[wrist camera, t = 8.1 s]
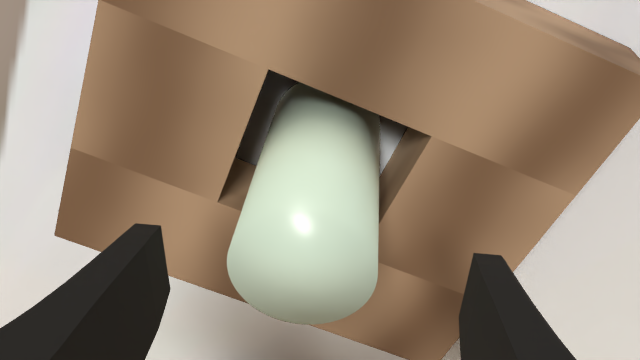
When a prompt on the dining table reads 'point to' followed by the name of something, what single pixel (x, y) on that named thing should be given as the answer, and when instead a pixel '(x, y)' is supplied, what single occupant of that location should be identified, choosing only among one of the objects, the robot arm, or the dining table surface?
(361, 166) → the peg
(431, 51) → the peg board
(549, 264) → the dining table surface
